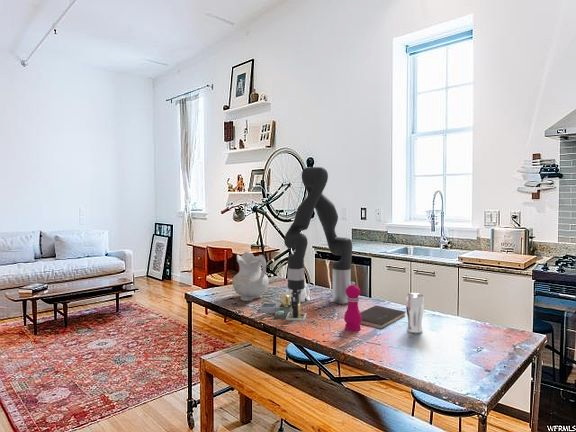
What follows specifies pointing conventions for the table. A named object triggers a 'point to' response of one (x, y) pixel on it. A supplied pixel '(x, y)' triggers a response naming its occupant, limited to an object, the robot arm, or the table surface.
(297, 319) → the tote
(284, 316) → the console
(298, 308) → the billet
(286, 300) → the billet
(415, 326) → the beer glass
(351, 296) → the pepper mill
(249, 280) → the ceramic pitcher
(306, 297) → the skull bowl
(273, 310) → the tray
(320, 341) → the table surface
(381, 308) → the hardcover book
